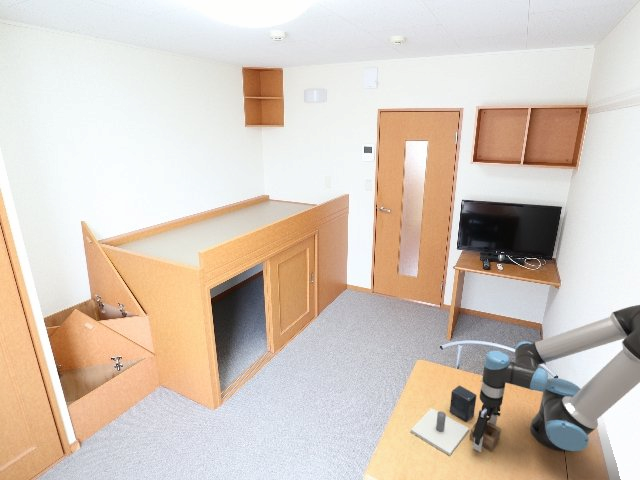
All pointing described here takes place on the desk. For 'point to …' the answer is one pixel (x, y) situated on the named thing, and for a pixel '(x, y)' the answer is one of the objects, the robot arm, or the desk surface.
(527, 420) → the desk surface
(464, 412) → the box
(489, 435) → the collar
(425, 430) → the thin white baseboard
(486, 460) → the desk surface
